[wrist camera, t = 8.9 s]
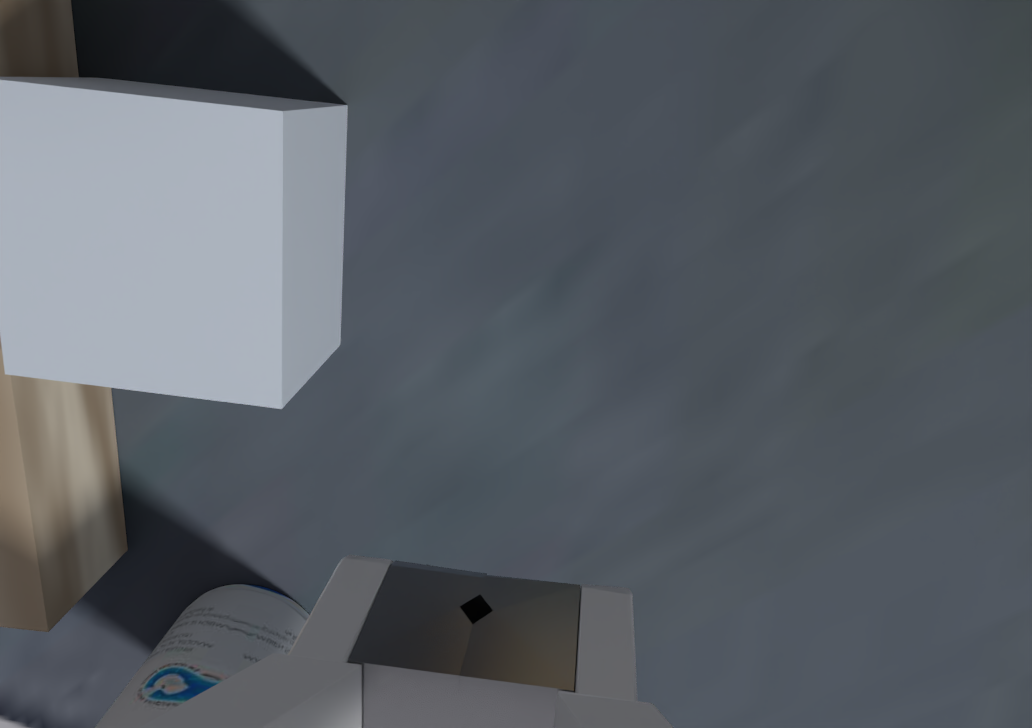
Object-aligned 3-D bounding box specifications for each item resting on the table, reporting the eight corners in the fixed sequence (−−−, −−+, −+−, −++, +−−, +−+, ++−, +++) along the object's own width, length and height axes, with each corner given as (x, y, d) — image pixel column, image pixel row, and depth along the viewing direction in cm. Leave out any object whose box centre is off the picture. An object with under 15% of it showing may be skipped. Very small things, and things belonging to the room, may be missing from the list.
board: (54, -161, 23) (-78, -223, 19) (127, 549, 31) (48, 631, 27) (-12, -165, 24) (-160, -227, 19) (78, 544, 32) (-10, 625, 27)
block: (348, 104, 25) (282, 111, 20) (341, 343, 28) (281, 408, 22) (102, 77, 26) (-31, 75, 20) (119, 316, 28) (4, 374, 23)
